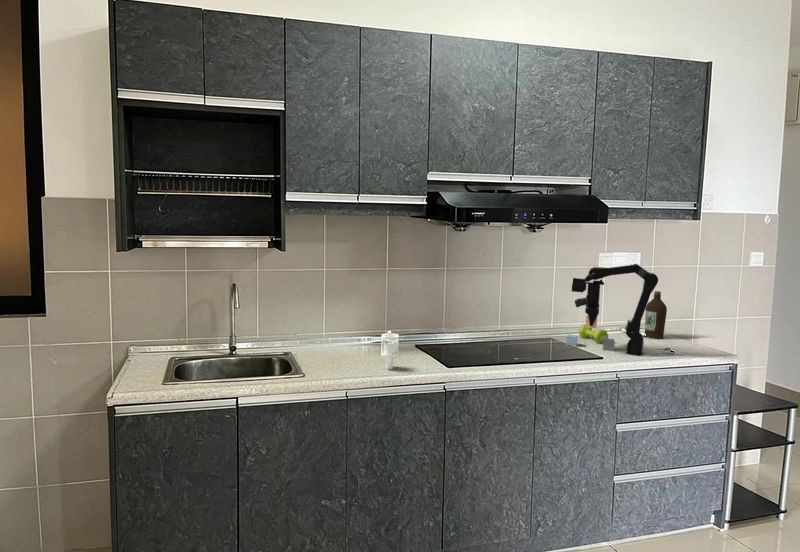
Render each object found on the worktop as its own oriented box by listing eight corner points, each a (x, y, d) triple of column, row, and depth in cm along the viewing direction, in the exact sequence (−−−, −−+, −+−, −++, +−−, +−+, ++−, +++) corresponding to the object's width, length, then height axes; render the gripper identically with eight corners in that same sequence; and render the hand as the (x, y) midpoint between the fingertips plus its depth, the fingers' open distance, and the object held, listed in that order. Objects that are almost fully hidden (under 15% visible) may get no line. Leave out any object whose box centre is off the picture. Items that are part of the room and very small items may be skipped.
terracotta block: (596, 326, 292) (597, 316, 291) (596, 328, 287) (597, 318, 287) (585, 325, 294) (586, 315, 293) (585, 327, 289) (586, 317, 288)
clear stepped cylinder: (396, 365, 251) (397, 330, 249) (398, 370, 244) (400, 334, 242) (379, 365, 250) (380, 330, 248) (381, 370, 243) (382, 334, 241)
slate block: (576, 344, 300) (577, 335, 299) (576, 347, 295) (577, 337, 295) (566, 343, 302) (567, 334, 301) (566, 345, 297) (566, 336, 296)
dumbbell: (609, 343, 305) (610, 330, 304) (596, 344, 302) (597, 330, 301) (588, 336, 320) (589, 323, 319) (576, 337, 317) (577, 324, 316)
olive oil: (652, 334, 331) (656, 289, 328) (668, 338, 321) (672, 292, 318) (638, 335, 326) (642, 290, 323) (654, 340, 316) (658, 293, 313)
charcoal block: (613, 349, 294) (614, 339, 293) (613, 351, 289) (614, 341, 288) (602, 348, 295) (603, 338, 295) (602, 350, 290) (603, 340, 290)
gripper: (576, 289, 300) (574, 320, 302) (575, 294, 282) (573, 326, 284) (600, 291, 296) (597, 322, 298) (600, 296, 279) (597, 329, 281)
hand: (591, 324), depth 290 cm, fingers closed on terracotta block, 5 cm apart
